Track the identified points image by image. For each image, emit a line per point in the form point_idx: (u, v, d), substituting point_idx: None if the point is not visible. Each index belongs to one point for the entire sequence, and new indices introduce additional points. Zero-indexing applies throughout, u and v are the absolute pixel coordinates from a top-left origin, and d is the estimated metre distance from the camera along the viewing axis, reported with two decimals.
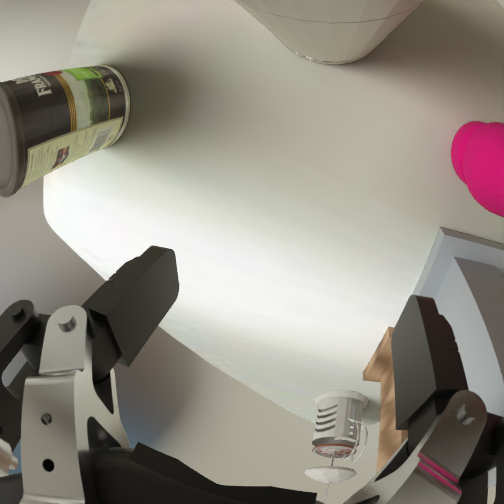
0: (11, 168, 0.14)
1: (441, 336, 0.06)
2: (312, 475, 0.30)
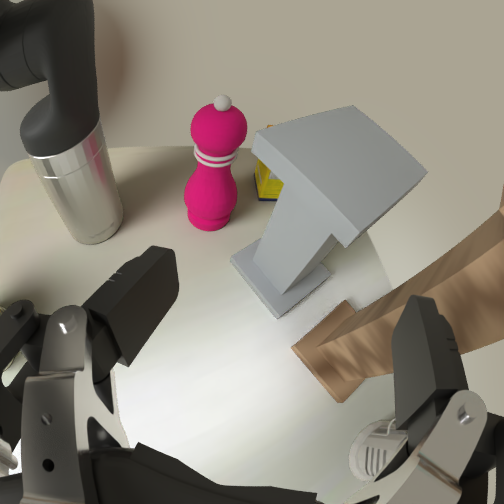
0: None
1: (441, 336, 0.06)
2: None
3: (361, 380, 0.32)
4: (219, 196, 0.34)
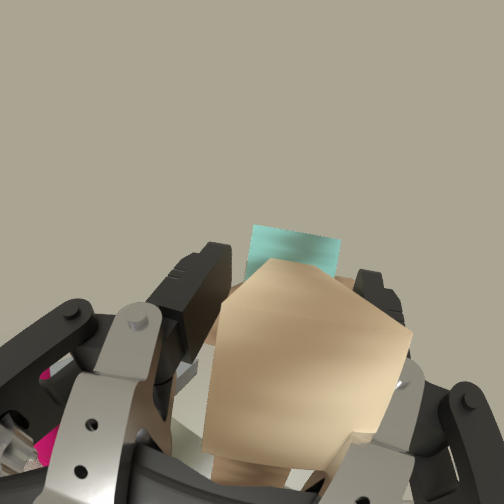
0: None
1: (381, 305, 0.07)
2: None
3: None
4: (54, 436, 0.22)
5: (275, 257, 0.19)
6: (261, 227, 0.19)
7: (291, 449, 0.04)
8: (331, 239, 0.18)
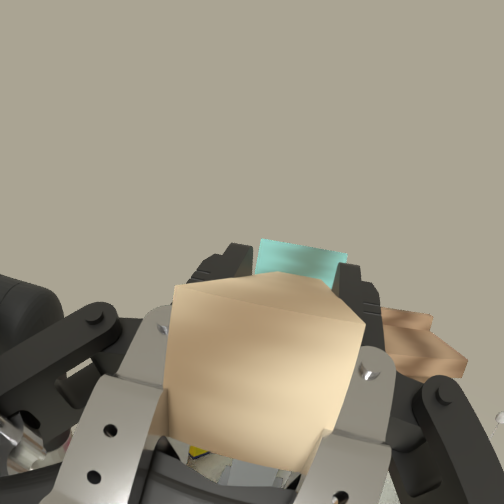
0: None
1: (357, 297, 0.07)
2: None
3: None
4: None
5: (282, 271, 0.19)
6: (268, 241, 0.19)
7: (242, 440, 0.04)
8: (337, 253, 0.18)
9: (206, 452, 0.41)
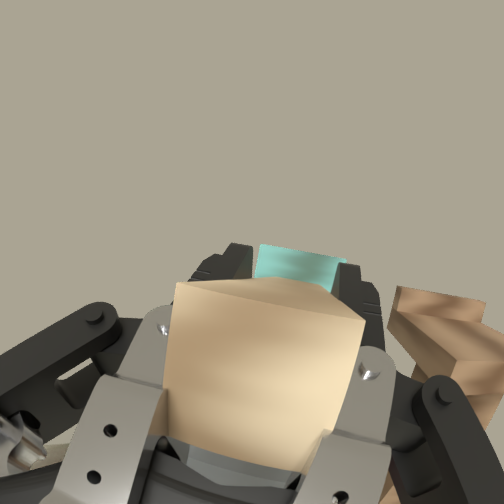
0: None
1: (357, 297, 0.07)
2: None
3: None
4: None
5: (281, 276, 0.19)
6: (267, 246, 0.19)
7: (242, 438, 0.04)
8: (336, 258, 0.18)
9: None
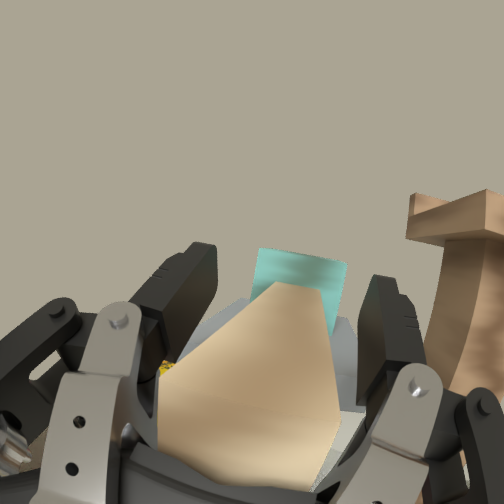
0: None
1: (398, 312, 0.07)
2: None
3: None
4: None
5: (280, 281, 0.19)
6: (266, 251, 0.19)
7: None
8: (337, 263, 0.18)
9: None
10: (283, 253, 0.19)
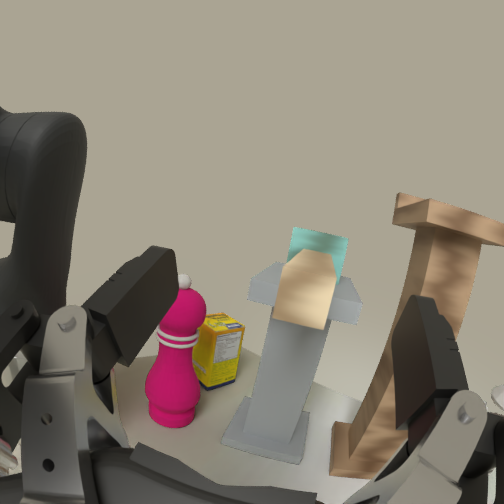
0: None
1: (441, 336, 0.06)
2: None
3: None
4: (190, 382, 0.30)
5: (306, 248, 0.30)
6: (298, 229, 0.30)
7: (301, 315, 0.15)
8: (342, 238, 0.29)
9: (222, 383, 0.41)
10: (308, 231, 0.29)
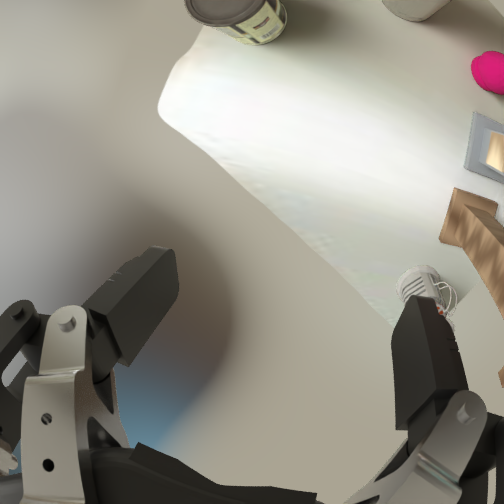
0: (248, 5, 0.22)
1: (441, 336, 0.06)
2: None
3: (458, 245, 0.40)
4: (503, 86, 0.20)
5: None
6: None
7: (491, 149, 0.16)
8: None
9: None
10: None
